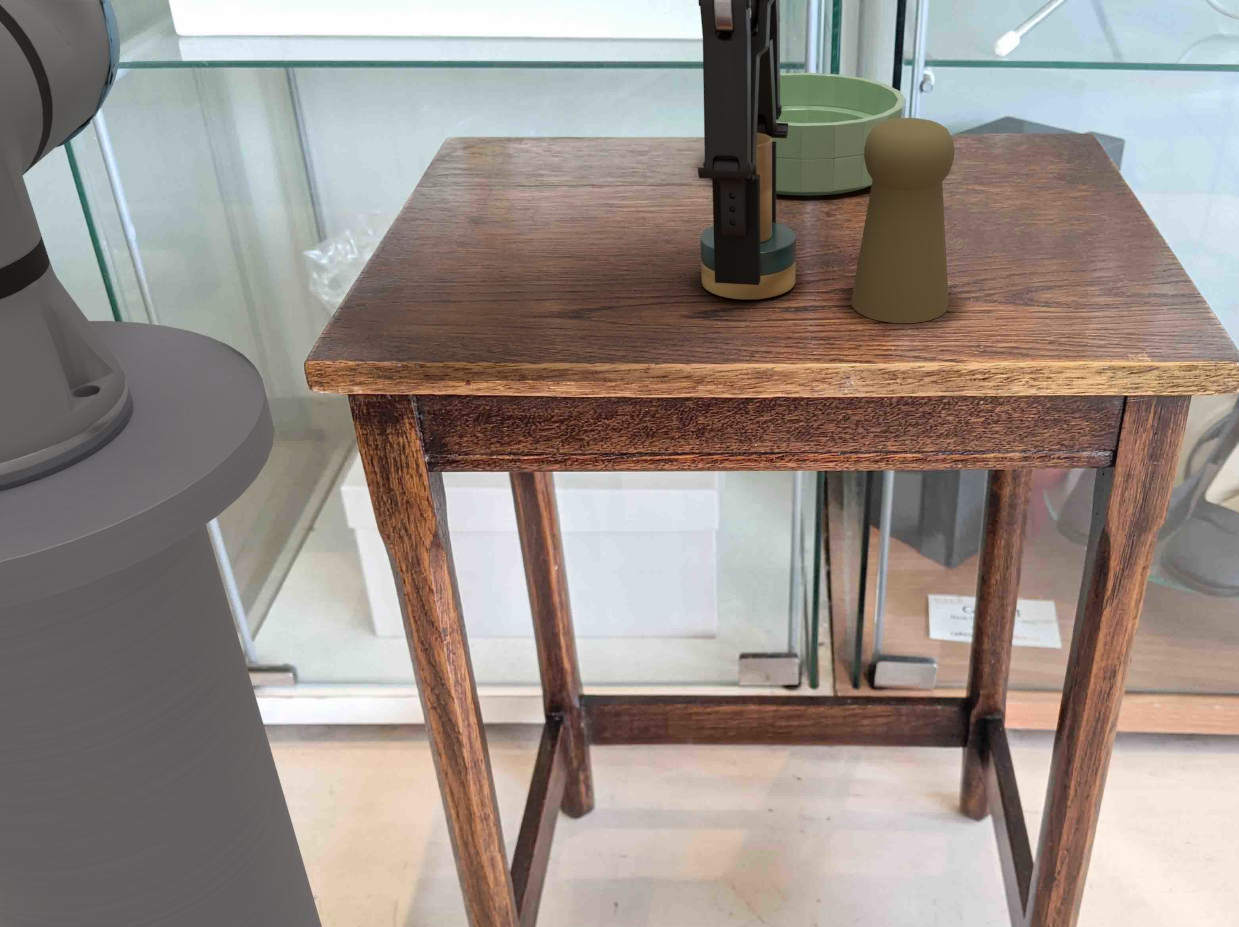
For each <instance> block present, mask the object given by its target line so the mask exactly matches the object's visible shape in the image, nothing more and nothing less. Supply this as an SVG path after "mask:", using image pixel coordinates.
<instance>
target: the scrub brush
mask: <svg viewBox="0 0 1239 927" xmlns="http://www.w3.org/2000/svg"><path fill="white" fill-rule="evenodd" d="M756 165H757V174H756V175H760V283H759V285H747V284H730V283H715V264H714V226H713V225H711V226H709V227H708V228H706V229H704V230H703V231H702V232H701V234H700V236H699V237H700V238H699V240H700V241H699V243H700V267H701V268H700V272H701V274H700V275H701V284H702V286H703V288H704V289H705V290H706V291H708V292H709V293H711V294H714V295H716V296H718V297H723V298H726V299H733V300H763V299H768V298H774V297H777V296H781V295H783V294H785V293H788V292H789V291H791V290H792V289H793V288H794V287H795V284H796V280H797V279H796V278H797V274H796V273H797V272H796V271H797V270H796V268H797V267H796V266H797V264H796V263H797V235H796V233H795V231H794V230H792V229H791V228H790V227H788V226H785V225H784V224H780V223H777V222H776V223H774V222H772V138H771V137H770V136H768V135H766V134H762V133H757V143H756Z"/></svg>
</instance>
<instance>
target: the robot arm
mask: <svg viewBox="0 0 1239 927" xmlns="http://www.w3.org/2000/svg"><path fill="white" fill-rule="evenodd" d="M780 4H781V2H780V0H698V6H699V10H700V11H699V12H700V21H701V23H700V24H701V32H702V74H703V79H702V80H703V83H702V84H703V134H704V135H703V136H704V137H703V138H704V161H703V166H702V167H701V166H698V167H697V175H698V179H708V180H712V181H711V184H712V185H711V187H712V220H713V222H712V223H713V225H712V226H714V264H715V283H730V284H747V285H759V283H760V175H756V174H757V165H756V143H757V133H762V134H766V135H768V136H770V137H771V138H787V136H788V123H776V120H779V117H780V116H781V113H782V106H781V105H780V73H781V13H780V12H781V11H780V10H781V8H780V6H781V5H780ZM116 17H117V16H116V13H115V10H114V7H113V4H112V2H111V0H0V491H2V490H5V489H9V488H13V487H16V486H20V485H23V484H26V483H29V482H32V481H35V480H38V479H40V478H43V477H46V476H48V475H51V474H53V473H56V472H58V471H60V470H63V469H65V468H67V467H69V466H71V465H73V464H75V463H77V462H79V461H81V460H83V459H85V458H86V457H88V456H90V455H91V454H93V453H95V452H96V451H98V450H99V449H101V448H102V447H103V446H105V445H106V444H107V443H109V442H110V441H111V440H112V439H113V438H115V437H116V436H117V435H118V434H119V433H120V432H121V431H122V429H123V428H124V427H125V426H126V424H127V423H128V421H129V419H130V417H131V415H132V412H133V399H132V396H131V393H130V389H129V386H128V383H127V379H126V376H125V374H124V372H123V370H122V369H121V366H120V364H119V363H118V361H117V359H116V357H115V356H114V355H113V353H112V352H111V351H110V349H109V348H108V346H107V345H106V344H105V342H104V341H103V340H102V338H101V337H100V336H99V334H98V333H97V332H96V330H95V329H94V327H93V326H92V325H91V323H90V322H89V321H90V320H89V319H88V318H87V316H86V315H85V313H84V312H83V311H82V309H81V308H80V307H79V306H78V303H77V302H76V301H75V300H74V299H73V297H72V296H71V295H70V293H69V292H68V290H67V289H66V288H65V287H64V285H63V284H62V282H61V281H60V280H59V278H58V277H57V275H56V272H55V271H54V269H53V265H52V264H51V263H52V262H51V260H50V257H49V254H48V251H47V248H46V245H45V242H44V239H43V236H42V232H41V229H40V226H39V223H38V220H37V216H36V213H35V210H34V207H33V204H32V201H31V197H30V195H29V192H28V188H27V185H26V182H25V179H24V175H25V174H27V173H28V172H29V170H31V169H32V168H33V167H34V166H35V165H37V164H38V163H39V162H40V161H41V160H43V159H44V158H45V157H46V156H47V155H48V154H50V153H51V152H52V151H53V150H54V149H56V148H59V147H62V146H64V145H66V144H67V143H69V142H70V141H71V140H73V139H74V138H75V137H77V136H79V134H81V133H82V132H83V131H85V129H86V128H87V127H88V126H89V125H90V124H91V122H92V120H93V119H94V118H96V116H97V115H98V112H99V111H100V110H101V109H102V107H103V105H104V103H105V101H106V99H107V98H108V96H109V94H110V92H111V91H112V89H113V87H114V83H115V81H116V78H117V74H118V70H119V65H120V56H121V40H120V39H121V38H120V32H119V25H118V20H117V18H116ZM772 222H774V223H777V194H776V142H775V141H772Z"/></svg>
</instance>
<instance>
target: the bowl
mask: <svg viewBox="0 0 1239 927" xmlns="http://www.w3.org/2000/svg"><path fill="white" fill-rule="evenodd" d="M906 104H907V99H906V97H905V96H904V94H903V93H902V92H901V91H900V90H898V89H896V88H895V87H893V86H891V85H888V84H887V83H883V82H880V81H876V80H872V79H869V78H865V77H858V76H851V75H845V74H837V73H822V72H780V105H781V106H782V113H781V116H780V117H779V120H776V123H788V136H787V138H772V141H775V142H776V195H781V196H782V195H783V196H801V197H805V196H806V197H809V196H810V197H811V196H813V197H815V196H816V197H817V196H829V195H838V194H847V193H851V192H856V191H859V190H863V189H866V188H869V187H871V186H872V178H871V176H870V175H869V173H868V172H867V169H866V164H865V159H864V146H865V143H866V139H867V137H868V135H869V134H870V132H871V131H872V129H873V128H874V126H876V125H878V124H879V123H881V122H883V121H886V120H890V119H898V118H906Z"/></svg>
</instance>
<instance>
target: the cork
mask: <svg viewBox="0 0 1239 927" xmlns="http://www.w3.org/2000/svg"><path fill="white" fill-rule="evenodd" d="M954 144H955V143H954V139H953V137H952V135H951V134H950V131H949V129H948V128H947V127H946V126H944V125H942V124H941V123H940V122H937V121H934V120H930V119H924V118H918V117H905V118H898V119H890V120H886V121H883V122H881V123H879V124H878V125H876V126H874V128H873V129H872V131H871V132H870V134H869V135H868V137H867V139H866V143H865V146H864V159H865V164H866V169H867V172H868V173H869V175H870V176H871V178H872V186H870V192H869V198H868V203H867V209H866V214H865V221H864V226H863V232H862V237H861V243H860V248H859V255H858V260H857V266H856V272H855V277H854V282H853V288H852V294H851V300H850V303H851V307H852V308H853V310H854V311H856V312H857V313H858V314H860V315H862V316H864V317H865V318H868V319H871V320H874V321H879V322H882V323H892V324H916V323H924V322H929V321H931V320H934V319H938V318H940V317H941V316H943V315H944V314H945V313H947V311H948V309H949V307H950V304H949V302H950V301H949V286H948V285H949V284H948V266H947V247H946V246H947V245H946V226H945V212H944V211H945V208H944V207H945V206H944V191H943V190H944V189H943V183H944V181H945V179H946V178H948V175H949V174H950V172H951V169H952V167H953V164H954V160H955V150H956V149H955V145H954Z"/></svg>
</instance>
